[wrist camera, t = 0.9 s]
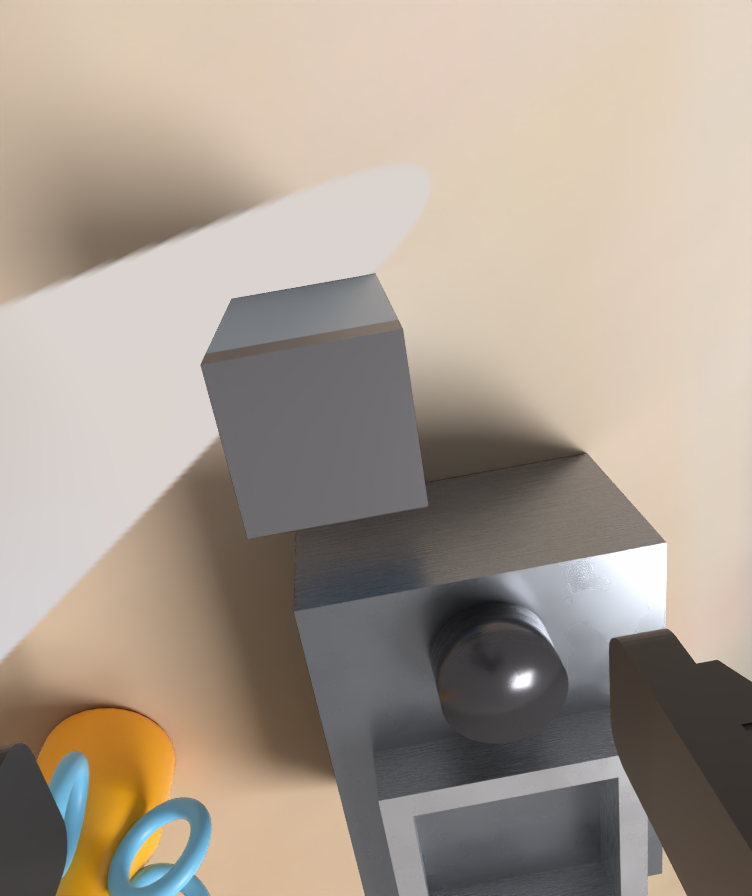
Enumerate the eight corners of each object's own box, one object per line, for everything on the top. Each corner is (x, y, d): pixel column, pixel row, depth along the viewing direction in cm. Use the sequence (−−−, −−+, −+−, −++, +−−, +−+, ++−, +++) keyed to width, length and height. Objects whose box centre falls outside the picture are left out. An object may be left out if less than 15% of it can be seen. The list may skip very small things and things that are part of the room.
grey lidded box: (231, 298, 25) (200, 364, 18) (375, 273, 25) (402, 329, 18) (263, 431, 27) (247, 538, 20) (396, 407, 27) (428, 506, 20)
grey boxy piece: (296, 506, 29) (292, 653, 20) (587, 453, 29) (698, 578, 21) (361, 785, 35) (377, 982, 27) (597, 740, 35) (685, 922, 27)
